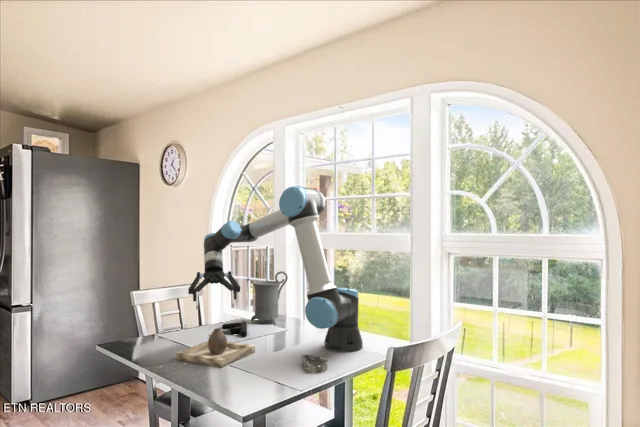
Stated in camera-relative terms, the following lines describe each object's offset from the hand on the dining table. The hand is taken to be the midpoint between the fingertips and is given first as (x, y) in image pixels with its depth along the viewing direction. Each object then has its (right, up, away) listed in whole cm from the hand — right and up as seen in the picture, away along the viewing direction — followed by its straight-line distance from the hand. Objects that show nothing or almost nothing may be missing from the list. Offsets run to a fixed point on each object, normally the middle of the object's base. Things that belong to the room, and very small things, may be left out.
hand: (215, 306), depth 170 cm
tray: (+3, -16, -10) cm, 19 cm away
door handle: (+1, -18, +26) cm, 31 cm away
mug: (+15, -18, +47) cm, 52 cm away
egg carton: (+39, -16, -22) cm, 47 cm away
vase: (+3, -15, -9) cm, 18 cm away
